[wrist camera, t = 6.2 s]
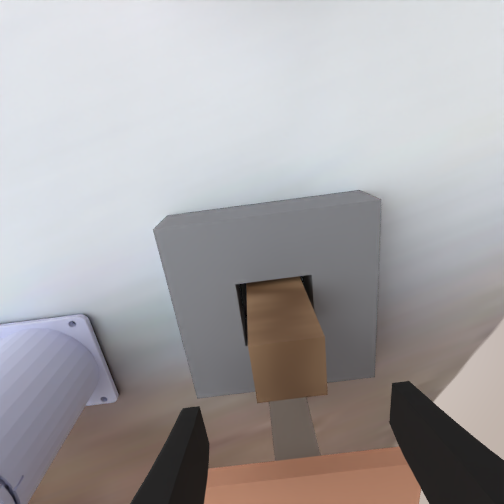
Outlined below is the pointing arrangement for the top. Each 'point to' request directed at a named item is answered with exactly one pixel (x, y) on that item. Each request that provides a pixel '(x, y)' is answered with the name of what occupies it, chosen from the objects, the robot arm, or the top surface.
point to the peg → (284, 341)
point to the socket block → (330, 319)
